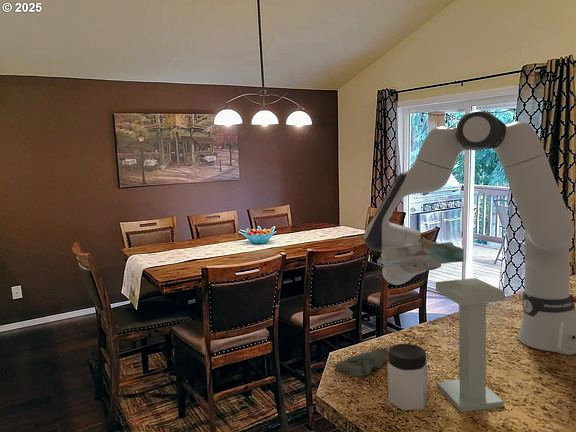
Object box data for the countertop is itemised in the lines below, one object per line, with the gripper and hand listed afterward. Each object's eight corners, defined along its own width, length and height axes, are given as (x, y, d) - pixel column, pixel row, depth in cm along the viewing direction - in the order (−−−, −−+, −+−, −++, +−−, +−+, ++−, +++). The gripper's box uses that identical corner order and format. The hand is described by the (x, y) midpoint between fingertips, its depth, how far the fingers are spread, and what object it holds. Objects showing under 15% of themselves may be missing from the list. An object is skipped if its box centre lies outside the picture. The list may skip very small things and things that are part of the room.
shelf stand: (475, 381, 109) (475, 277, 106) (503, 406, 98) (504, 291, 95) (437, 387, 108) (435, 282, 104) (461, 412, 97) (460, 296, 93)
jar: (422, 415, 97) (421, 362, 95) (385, 407, 101) (383, 356, 99) (430, 394, 104) (429, 345, 103) (395, 388, 108) (394, 340, 107)
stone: (376, 342, 130) (404, 352, 122) (376, 353, 131) (404, 363, 123) (332, 358, 120) (360, 370, 112) (333, 370, 120) (360, 382, 112)
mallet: (429, 247, 123) (429, 236, 122) (463, 261, 106) (463, 249, 105) (412, 248, 122) (412, 237, 122) (443, 263, 105) (443, 250, 105)
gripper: (373, 252, 131) (387, 236, 118) (439, 247, 133) (460, 230, 121) (377, 273, 128) (392, 259, 115) (444, 267, 131) (466, 253, 118)
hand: (428, 244), depth 118 cm, fingers closed on mallet, 2 cm apart
